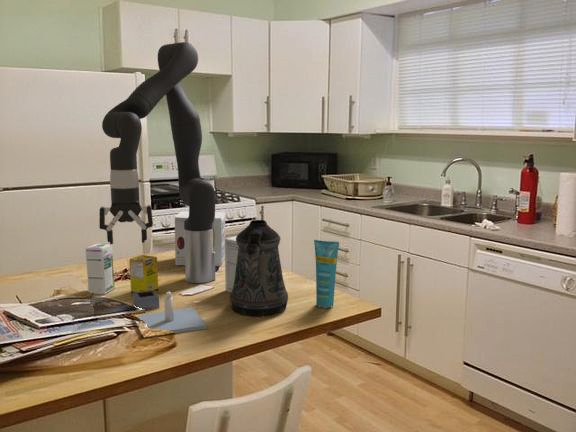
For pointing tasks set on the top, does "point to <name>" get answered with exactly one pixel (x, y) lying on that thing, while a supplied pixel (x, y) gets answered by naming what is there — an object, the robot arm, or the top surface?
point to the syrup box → (100, 268)
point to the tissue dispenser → (146, 299)
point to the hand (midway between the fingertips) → (127, 242)
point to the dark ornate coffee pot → (258, 273)
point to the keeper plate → (174, 318)
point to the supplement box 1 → (143, 273)
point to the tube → (325, 271)
